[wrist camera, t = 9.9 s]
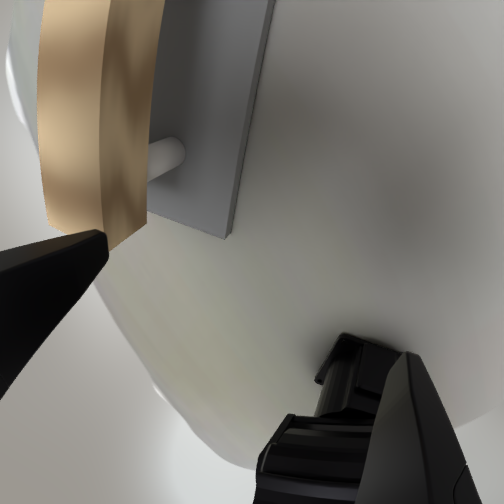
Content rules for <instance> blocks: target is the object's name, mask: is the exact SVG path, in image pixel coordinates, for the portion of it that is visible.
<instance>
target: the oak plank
mask: <svg viewBox="0 0 504 504" xmlns="http://www.w3.org/2000/svg"><path fill="white" fill-rule="evenodd" d="M164 4H165V0H45V3H44V10H43V17H42V25H41V33H40V43H39V56H38V75H37V122H38V142H39V155H40V166H41V175H42V183H43V192H44V199H45V205H46V211H47V217H48V223H49V225H50V226H52V227H54V228H56V229H58V230H60V231H62V232H64V233H66V234H67V235H69V234H74V233H78V232H83V231H87V230H92V229H98V230H100V231H102V232H104V233H106V235H107V238H108V248H109V251H111V250H112V249H113V248H115V247H116V246H117V245H119V244H120V243H121V242H122V241H124V240H125V239H126V238H128V237H129V236H131V235H132V234H133V233H135V232H136V231H137V230H139V229H140V228H141V227H143V226H144V225H145V224H147V165H148V143H149V126H150V113H151V101H152V90H153V80H154V71H155V63H156V55H157V47H158V40H159V34H160V27H161V21H162V15H163V9H164Z"/></svg>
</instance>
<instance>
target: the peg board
mask: <svg viewBox="0 0 504 504" xmlns="http://www.w3.org/2000/svg"><path fill="white" fill-rule="evenodd" d="M274 2H275V0H165V4H164V9H163V15H162V21H161V27H160V34H159V40H158V47H157V55H156V63H155V71H154V80H153V90H152V101H151V113H150V126H149V143H148V165H147V211H149V212H151V213H154V214H157V215H159V216H162V217H165V218H168V219H170V220H173V221H176V222H178V223H181V224H184V225H186V226H189V227H192V228H195V229H197V230H200V231H203V232H205V233H208V234H211V235H213V236H216V237H219V238H221V239H224V240H225V239H226V238H227V236H228V235H229V234H230V233H231V229H232V223H233V217H234V211H235V205H236V199H237V193H238V188H239V182H240V176H241V171H242V165H243V160H244V154H245V148H246V143H247V138H248V132H249V127H250V121H251V116H252V111H253V106H254V100H255V95H256V90H257V85H258V80H259V75H260V70H261V65H262V60H263V55H264V50H265V45H266V40H267V35H268V30H269V26H270V21H271V16H272V11H273V7H274Z"/></svg>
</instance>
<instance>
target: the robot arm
mask: <svg viewBox="0 0 504 504" xmlns="http://www.w3.org/2000/svg"><path fill="white" fill-rule="evenodd" d="M108 259H109V248H108V238H107V235H106V233H104V232H102V231H100V230H98V229H92V230H87V231H83V232H78V233H74V234H69V235H65V236H61V237H56V238H53V239H48V240H44V241H40V242H36V243H31V244H28V245H23V246H19V247H15V248H12V249H8V250H4V251H0V400H1V398H2V397H3V396H4V394H5V392H6V391H7V390H8V389H9V387H10V385H11V384H12V383H13V381H14V380H15V379H16V377H17V376H18V374H19V373H20V372H21V371H22V369H23V368H24V367H25V365H26V364H27V363H28V361H29V360H30V359H31V357H32V356H33V355H34V354H35V352H36V351H37V350H38V348H39V347H40V346H41V345H42V343H43V342H44V341H45V340H46V338H47V337H48V336H49V335H50V334H51V332H52V331H53V330H54V329H55V327H56V326H57V325H58V324H59V323H60V321H61V320H62V319H63V318H64V317H65V315H66V314H67V313H68V312H69V311H70V309H71V308H72V307H73V306H74V305H75V304H76V303H77V301H78V300H79V299H80V298H81V297H82V295H83V294H84V293H85V291H86V290H87V289H88V287H89V286H90V284H91V283H92V282H93V280H94V279H95V278H96V276H97V275H98V274H99V272H100V271H101V270H102V268H103V267H104V266H105V264H106V263H107V261H108ZM343 340H345V341H343ZM314 381H315V382H316V383H317V384H320V385H322V386H323V388H322V391H321V395H320V398H319V401H318V405H317V408H316V411H315V415H314V417H309V416H296V415H295V414H287V415H286V417H285V418H284V420H283V422H282V423H281V424H280V426H279V427H278V429H277V430H276V432H275V433H274V435H273V436H272V438H271V439H270V441H269V442H268V443H267V445H266V446H265V448H264V449H263V451H262V452H261V453H260V455H259V456H258V462H257V468H256V491H255V496H254V501H253V504H482V502H481V499H480V497H479V495H478V492H477V489H476V487H475V484H474V481H473V479H472V476H471V473H470V470H469V468H468V465H466V460H465V457H464V455H463V452H462V449H461V447H460V444H459V442H458V439H457V437H456V434H455V432H454V430H453V427H452V425H451V422H450V420H449V418H448V415H447V413H446V411H445V408H444V406H443V404H442V402H441V400H440V397H439V395H438V393H437V391H436V389H435V386H434V384H433V382H432V380H431V378H430V376H429V374H428V372H427V370H426V368H425V366H424V363H423V361H422V359H421V357H420V356H419V355H418V354H415V353H412V352H409V351H405V352H404V353H403V354H401V353H398V352H395V351H392V350H389V349H386V348H384V347H381V346H378V345H375V344H372V343H369V342H366V341H364V340H361V339H358V338H355V337H352V336H350V335H347V334H342V335H340V336H339V337H338V339H337V340H336V342H335V344H334V346H333V348H332V349H331V351H330V353H329V354H328V356H327V358H326V360H325V361H324V363H323V365H322V366H321V368H320V370H319V371H318V373H317V375H316V377H315V380H314Z"/></svg>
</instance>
